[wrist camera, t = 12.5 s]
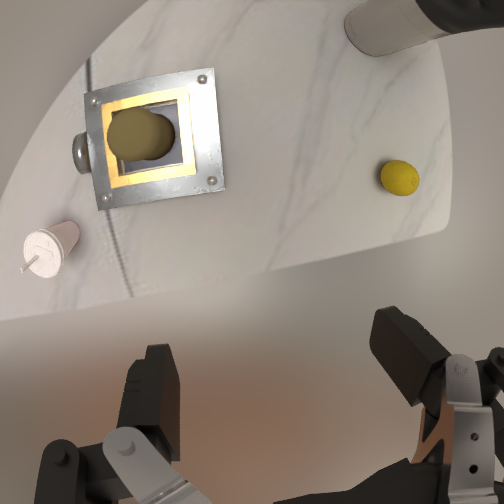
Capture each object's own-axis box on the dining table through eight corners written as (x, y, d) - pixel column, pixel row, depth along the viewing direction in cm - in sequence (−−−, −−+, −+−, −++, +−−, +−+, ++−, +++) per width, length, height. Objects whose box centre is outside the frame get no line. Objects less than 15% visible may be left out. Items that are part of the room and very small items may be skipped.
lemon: (381, 197, 44) (411, 208, 36) (366, 170, 42) (395, 177, 34) (402, 178, 43) (432, 186, 36) (388, 151, 41) (419, 156, 34)
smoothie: (50, 215, 35) (0, 246, 23) (83, 209, 36) (37, 240, 24) (58, 253, 38) (15, 295, 25) (91, 249, 39) (53, 293, 26)
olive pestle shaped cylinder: (143, 105, 29) (118, 90, 19) (184, 125, 31) (176, 117, 21) (120, 148, 31) (87, 151, 21) (160, 168, 33) (142, 179, 23)
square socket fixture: (212, 75, 33) (214, 62, 27) (222, 185, 39) (226, 193, 33) (84, 100, 31) (65, 94, 25) (98, 206, 37) (81, 217, 31)
